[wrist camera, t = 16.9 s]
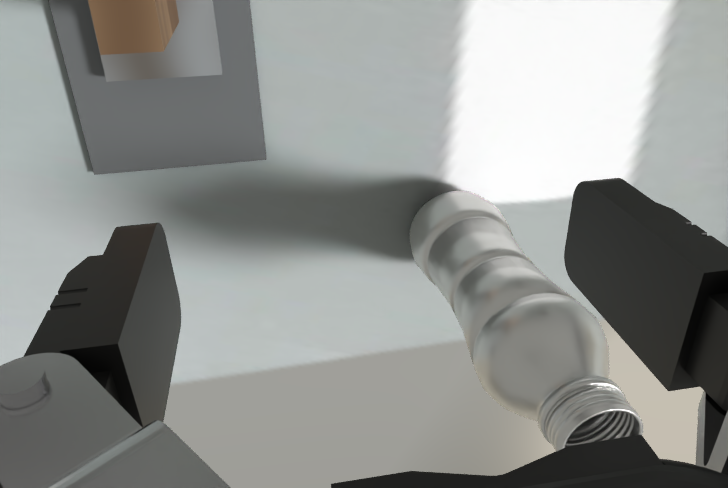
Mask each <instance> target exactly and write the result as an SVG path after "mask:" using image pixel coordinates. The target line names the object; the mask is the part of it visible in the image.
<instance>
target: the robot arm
mask: <svg viewBox="0 0 728 488" xmlns="http://www.w3.org/2000/svg"><path fill="white" fill-rule="evenodd" d="M564 259H565V266H566V270H567V273H568V276H569V278H570V279H571V281H572V282H573V283H574V284H575V286H576V287H577V288H578V289H579V290H580V291H581V292H582V294H583V295H584V296H585V297H586V298H587V299H588V300H589V301H590V303H591V304H592V305H593V306H594V307H595V308H596V309H597V311H598V312H599V313H600V314H601V315H602V316H603V317H604V319H605V320H606V321H607V322H608V323H609V324H610V325H611V327H612V328H613V329H614V330H615V331H616V332H617V333H618V334H619V336H620V337H621V338H622V339H623V340H624V341H625V342H626V343H627V344H628V346H629V347H630V348H631V349H632V350H633V351H634V353H635V354H636V355H637V356H638V357H639V358H640V359H641V361H642V362H643V363H644V364H645V365H646V366H647V367H648V369H649V370H650V371H651V372H652V373H653V374H654V375H655V377H656V378H657V379H658V380H659V381H660V382H661V383H662V385H663V386H664V387H665V388H666V389H667V390H668V391H673V390H680V389H686V388H693V387H699V386H700V387H701V388H703V390H704V392H703V395H702V398H701V400H700V403H699V408H698V427H697V450H696V465H693V464H689V463H685V462H679V461H672V460H665V459H659V458H658V457H657V455H656V454H655V452H654V451H653V450H652V449H651V447H650V446H649V445H648V443H647V442H646V441H645V439H644V438H643V436H642V435H635V436H628V437H622V438H616V439H610V440H603V441H597V442H591V443H584V444H578V445H572V446H568V447H565V448H563V449H561V450H559V451H556V452H554V453H552V454H549V455H547V456H545V457H543V458H541V459H538V460H536V461H534V462H531V463H529V464H527V465H524V466H523V467H520V468H518V469H515V470H513V471H511V472H509V473H506V474H503V475H498V476H483V475H482V476H481V475H467V474H450V473H433V472H417V471H409V472H403V473H396V474H390V475H384V476H378V477H372V478H366V479H359V480H353V481H346V482H341V483H334V484H331V488H728V247H727V246H725V245H724V244H722V243H721V242H720V241H718V240H717V239H715V238H714V237H712V236H707V232H705V231H704V230H702V229H701V228H699V227H698V226H696V225H692V224H691V221H689V220H688V219H686V218H685V217H683V216H682V215H680V214H679V213H678V212H676V211H675V210H673V209H671V208H669V207H666V206H663V205H661V204H658V203H656V202H654V201H653V200H651V199H650V198H648V197H647V196H646V195H644V194H643V193H641V192H640V191H638V190H637V189H636V188H634V187H633V186H631V185H630V184H628V183H627V182H626V181H624V180H623V179H620V178H614V179H603V180H593V181H583V182H580V183H579V184H578V185H577V187H576V189H575V191H574V195H573V201H572V207H571V214H570V220H569V226H568V233H567V239H566V245H565V253H564ZM180 327H181V308H180V300H179V294H178V290H177V285H176V281H175V276H174V272H173V267H172V263H171V259H170V254H169V250H168V245H167V241H166V237H165V233H164V230H163V227H162V225H161V224H160V223H151V224H141V225H131V226H121V227H116V228H115V230H114V232H113V234H112V237H111V239H110V241H109V243H108V245H107V248H106V250H105V252H104V254H103V255H98V256H89V257H87V258H86V259H85V260H83V261H82V262H81V263H80V264H78V265H77V266H76V267H75V268H74V269H72V270H71V271H70V272H69V273H68V274H67V276H66V277H65V279H64V281H63V283H62V285H61V287H60V289H59V291H58V295H56V296H55V298H54V300H53V302H52V304H51V306H50V310H48V311H47V313H46V315H45V317H44V319H43V321H42V323H41V325H40V326H39V328H38V330H37V332H36V334H35V336H34V338H33V340H32V342H31V343H30V345H29V347H28V349H27V351H26V353H25V355H24V357H22V358H18V359H15V360H13V361H10V362H8V363H6V364H3V365H1V366H0V488H230V487H229V486H228V485H227V484H226V483H225V482H224V481H223V480H222V479H221V478H220V477H219V476H218V475H217V474H216V473H215V472H214V471H213V470H212V469H211V468H210V467H209V466H208V465H207V464H206V463H205V462H204V461H203V460H202V459H201V458H200V457H199V456H198V455H197V454H196V453H195V452H194V451H193V450H192V449H191V448H190V447H189V446H188V445H186V444H185V443H184V442H183V441H182V440H181V439H180V438H179V437H178V436H177V435H176V434H175V433H174V432H173V431H172V430H171V429H170V428H169V427H168V426H167V425H166V424H164V423H163V420H164V415H165V409H166V404H167V398H168V393H169V387H170V382H171V377H172V371H173V366H174V360H175V355H176V349H177V344H178V338H179V333H180Z"/></svg>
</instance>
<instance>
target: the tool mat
mask: <svg viewBox="0 0 728 488" xmlns="http://www.w3.org/2000/svg"><path fill="white" fill-rule="evenodd" d="M48 1H49V5H50V9H51V12H52V16H53V20H54V24H55V28H56V31H57V35H58V39H59V43H60V47H61V50H62V54H63V58H64V62H65V66H66V69H67V73H68V77H69V81H70V85H71V88H72V92H73V96H74V100H75V104H76V107H77V111H78V115H79V119H80V123H81V126H82V130H83V134H84V138H85V142H86V145H87V149H88V153H89V157H90V161H91V164H92V168H93V172H94V175H96V174H107V173H118V172H130V171H141V170H153V169H164V168H176V167H187V166H198V165H210V164H221V163H233V162H244V161H256V160H266V150H265V141H264V131H263V122H262V113H261V103H260V94H259V85H258V75H257V66H256V57H255V47H254V38H253V29H252V19H251V10H250V0H213V5H214V12H215V20H216V27H217V35H218V42H219V50H220V57H221V65H222V75H209V76H192V77H176V78H160V79H143V80H127V81H111V82H106V77H105V73H104V69H103V64H102V60H101V56H100V51H99V47H98V43H97V38H96V34H95V30H94V25H93V21H92V17H91V12H90V8H89V4H88V0H48Z"/></svg>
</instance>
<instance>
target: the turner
mask: <svg viewBox="0 0 728 488" xmlns="http://www.w3.org/2000/svg"><path fill="white" fill-rule="evenodd" d="M88 4H89V8H90V12H91V17H92V21H93V25H94V30H95V34H96V38H97V43H98V47H99V51H100V56H101V60H102V64H103V69H104V73H105V77H106V82H111V81H127V80H143V79H160V78H176V77H192V76H209V75H222V65H221V57H220V50H219V42H218V35H217V27H216V20H215V12H214V5H213V0H88Z"/></svg>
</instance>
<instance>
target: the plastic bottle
mask: <svg viewBox="0 0 728 488" xmlns="http://www.w3.org/2000/svg"><path fill="white" fill-rule="evenodd" d="M410 245H411V250H412V254H413V258H414V260H415V262H416V264H417V266H418V267H419V268H420V269H421V270H422V272H423V273H424V274H425V275H426V276H427V278H428V279H429V280H430V281H431V282H432V283H434V284H435V285H436V286H437V287H438V289H439V290H440V291H441V293H442V294H443V296H444V297H445V298H446V300H447V301H448V302H449V304H450V305H451V307H452V309H453V311H454V313H455V315H456V318H457V320H458V322H459V324H460V326H461V328H462V330H463V333H464V336H465V339H466V343H467V346H468V349H469V352H470V355H471V358H472V362H473V364H474V368H475V371H476V373H477V375H478V378H479V380H480V382H481V384H482V386H483V388H484V390H485V391H486V392H487V393H488V394H489V395H490V396H491V397H492V398H493V399H494V400H495V401H496V402H497V403H499V404H500V405H501V406H502V407H504V408H505V409H507V410H509V411H511V412H514V413H515V414H518V415H520V416H523V417H525V418H528V419H531V420H534V421H538V426H539V428H540V431H541V432H542V434H543V435H544V437H545V438H546V439H547V441H548V442H549V443H551V444H552V445H553V447H554V449H555V450H556V451H559V450H561V449H563V448H565V447H568V446H572V445H578V444H584V443H591V442H597V441H603V440H610V439H616V438H622V437H628V436H635V435H642V433H643V423H642V420H641V419H640V417H639V415H638V414H637V412H636V411H635V410H634V408H633V407H632V406H631V405H630V404H629V403H628V401H627V400H626V398H625V395H624V393H623V392H622V390H621V389H620V388H619V387H618V386H617V385H616V384H615V383H614V382H613V381H611V380H610V379H608V378H609V346H608V343H607V339H606V337H605V334H604V332H603V329H602V327H601V325H600V323H599V321H598V320H597V318H596V317H595V316H594V315H593V314H592V313H591V312H589V311H588V310H587V309H586V308H585V307H584V306H583V305H582V304H581V303H580V302H578V301H577V300H575V299H574V298H573V297H572V296H570V295H569V294H568V293H567V292H565V291H564V290H563V289H561V288H560V287H559V286H557V285H556V284H555V283H553V282H552V281H551V280H550V279H549V278H548V277H546V276H545V275H544V274H543V273H542V272H541V271H540V270H539V269H538V268H537V267H536V266H535V265H534V264H533V263H532V262H531V261H530V260H529V259H528V258H527V257H526V255H525V254H524V252H523V251H522V249H521V248H520V246H519V245H518V243H517V242H516V240H515V239H514V237H513V235H512V232H511V230H510V227H509V225H508V223H507V222H506V220H505V218H504V216H503V215H502V213H501V212H500V210H499V209H498V208H497V207H496V206H495V205H494V204H492V203H491V202H489V201H487V200H486V199H484V198H482V197H481V196H479V195H477V194H475V193H471V192H468V191H450V192H447V193H443V194H440V195H438V196H436V197H434V198H432V199H431V200H430V201H428V202H427V203H426V204H425V205H424V206H423V207H422V208H420V210H419V211H418V212H417V214H416V215H415V217H414V219H413V221H412V224H411V228H410Z"/></svg>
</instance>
